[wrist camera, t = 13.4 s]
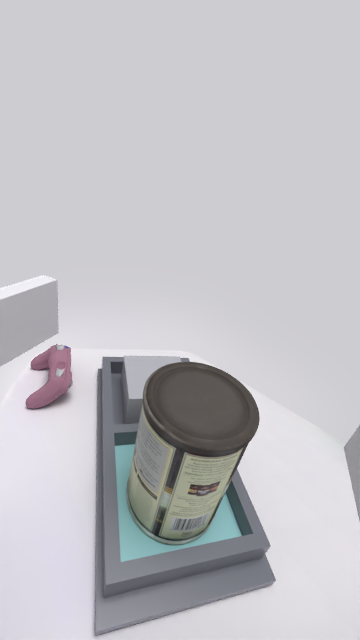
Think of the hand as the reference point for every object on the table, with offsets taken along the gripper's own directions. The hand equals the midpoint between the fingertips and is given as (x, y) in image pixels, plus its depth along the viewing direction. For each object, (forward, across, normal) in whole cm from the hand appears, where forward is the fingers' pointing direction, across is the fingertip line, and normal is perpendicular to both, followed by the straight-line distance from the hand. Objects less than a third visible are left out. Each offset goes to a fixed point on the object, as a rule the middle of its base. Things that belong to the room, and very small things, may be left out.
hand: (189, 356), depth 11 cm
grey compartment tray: (+14, -4, -26) cm, 30 cm away
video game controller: (+16, -23, -26) cm, 38 cm away
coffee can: (+10, 0, -25) cm, 26 cm away
